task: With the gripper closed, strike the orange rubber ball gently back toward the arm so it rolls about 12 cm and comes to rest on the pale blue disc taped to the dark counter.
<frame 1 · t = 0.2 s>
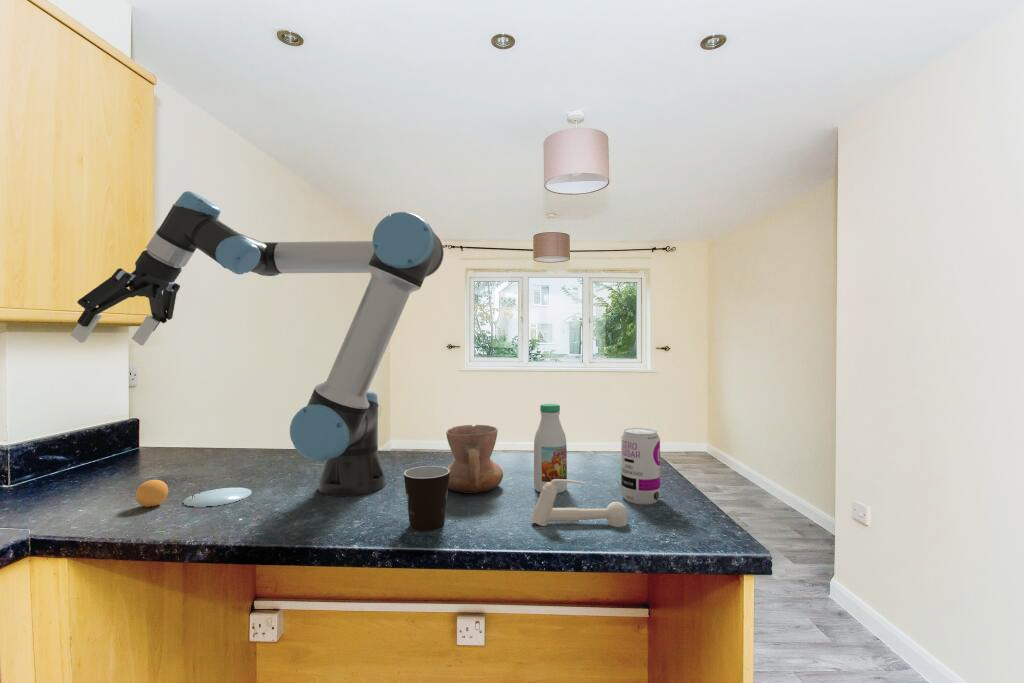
hand: (109, 340, 99), 35 cm above the countertop, tool tilted 35°, fingers open, 13 cm apart
ceramic jug: (472, 489, 109), on the countertop
milk bottle: (550, 490, 109), on the countertop
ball: (152, 493, 98), on the countertop
faucet: (579, 525, 88), on the countertop
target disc: (218, 497, 104), on the countertop
brown cup: (430, 522, 89), on the countertop
supplement can: (640, 500, 102), on the countertop
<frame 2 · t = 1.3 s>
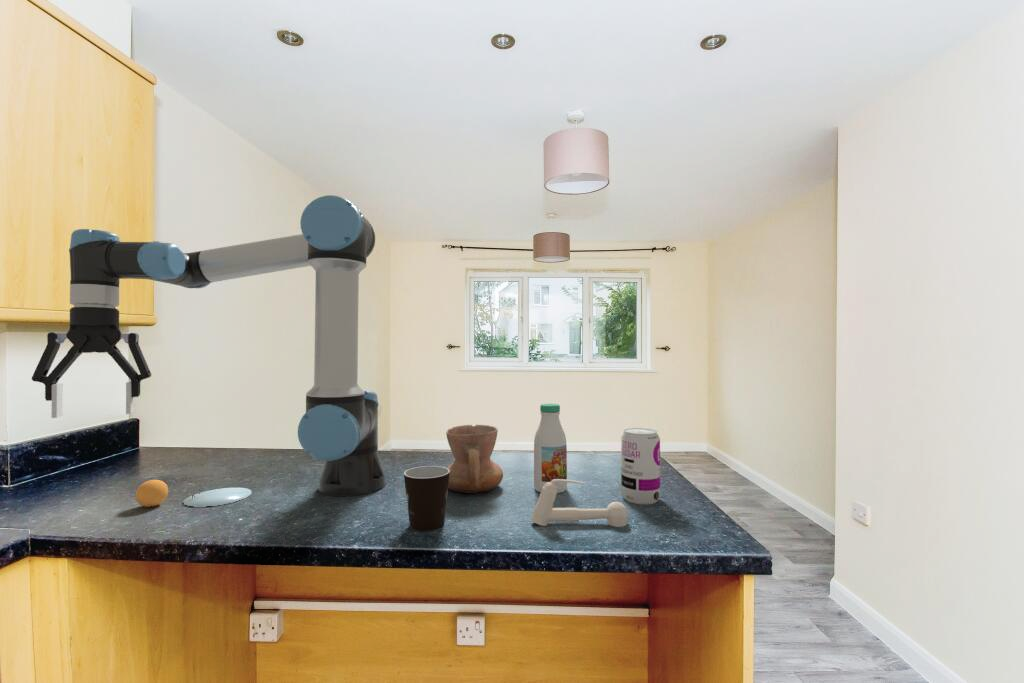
hand: (94, 415, 94), 20 cm above the countertop, tool pointing down, fingers open, 11 cm apart
nothing on the countertop moved.
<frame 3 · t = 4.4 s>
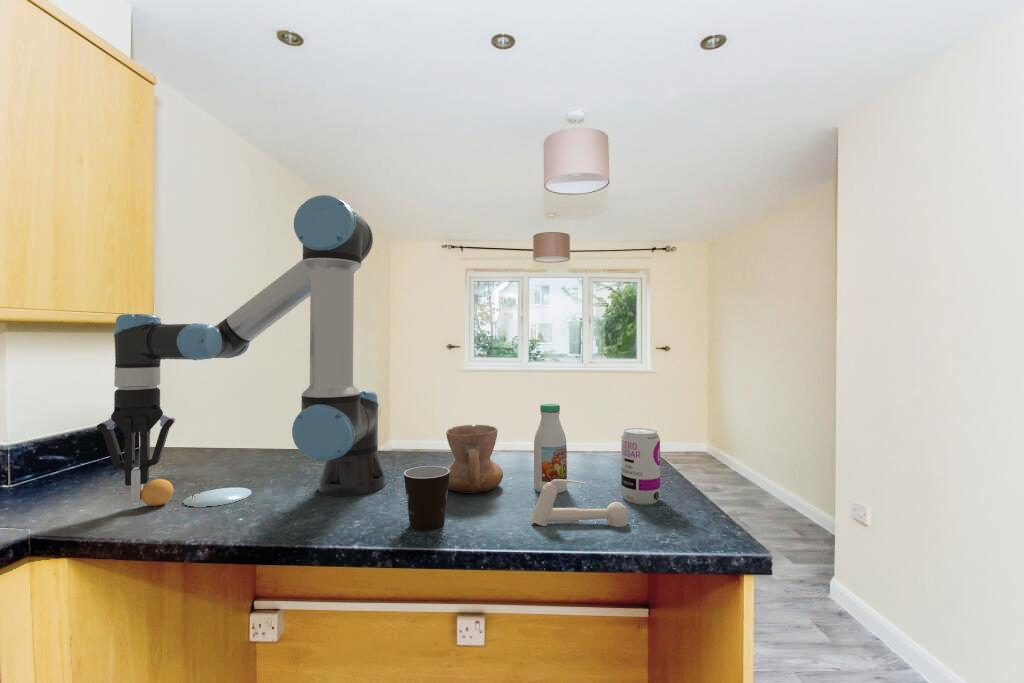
hand: (137, 499, 97), 2 cm above the countertop, tool pointing down, fingers closed
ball: (157, 492, 99), on the countertop, touching gripper
everything else where it was.
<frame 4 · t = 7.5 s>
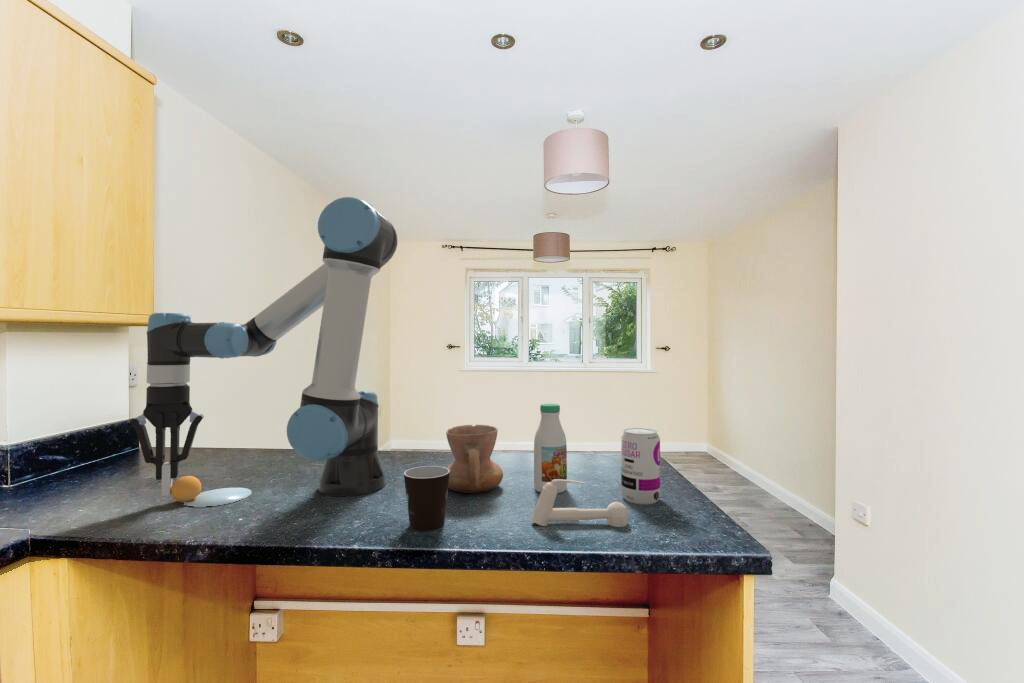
hand: (166, 493, 100), 2 cm above the countertop, tool pointing down, fingers closed
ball: (186, 488, 101), on the countertop, touching gripper
everything else where it was.
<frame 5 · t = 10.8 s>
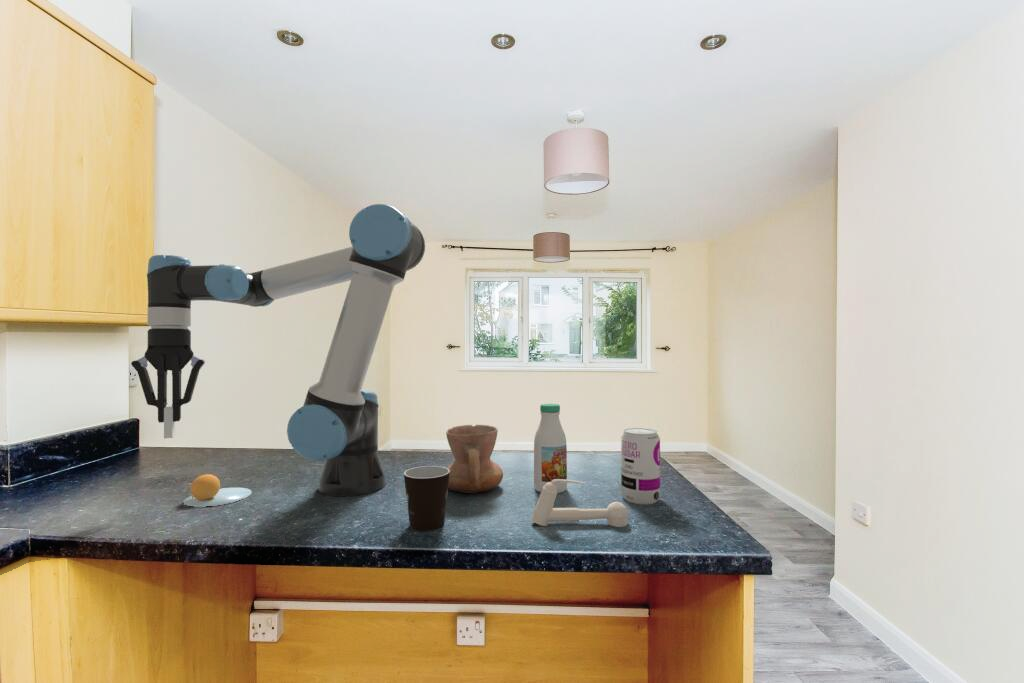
hand: (169, 436, 100), 14 cm above the countertop, tool pointing down, fingers closed
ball: (205, 487, 102), on the countertop
everything else where it was.
at the end: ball 2.4 cm from the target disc (horizontally); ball at rest at the end (0.0 cm/s); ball moved 9.6 cm from its start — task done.
